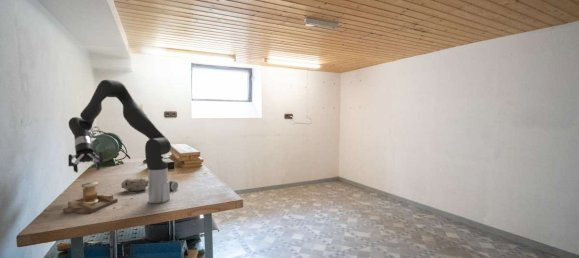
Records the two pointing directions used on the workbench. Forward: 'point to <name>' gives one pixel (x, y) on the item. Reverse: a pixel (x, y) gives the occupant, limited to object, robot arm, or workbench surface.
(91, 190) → the bobbin
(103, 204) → the notched board
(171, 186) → the flashlight
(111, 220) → the workbench surface
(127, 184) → the pumice stone
